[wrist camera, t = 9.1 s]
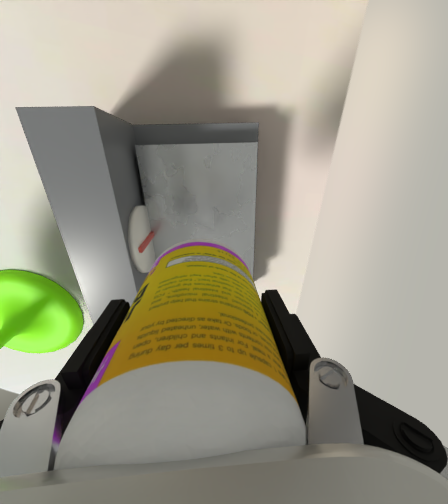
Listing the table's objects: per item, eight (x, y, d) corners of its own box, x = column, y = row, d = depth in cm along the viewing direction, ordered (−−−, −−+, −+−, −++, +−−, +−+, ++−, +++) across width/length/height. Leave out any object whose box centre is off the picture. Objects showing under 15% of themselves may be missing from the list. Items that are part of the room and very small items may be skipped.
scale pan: (138, 146, 21) (134, 145, 20) (255, 143, 22) (257, 142, 21) (163, 293, 28) (162, 299, 27) (250, 288, 29) (252, 293, 28)
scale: (96, 129, 24) (15, 107, 14) (253, 126, 25) (283, 103, 15) (134, 291, 33) (102, 350, 23) (249, 284, 34) (266, 337, 24)
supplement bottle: (151, 228, 12) (-752, 1295, 1) (258, 241, 13) (641, 853, 2) (150, 317, 15) (-58, 871, 3) (240, 323, 16) (329, 788, 4)
